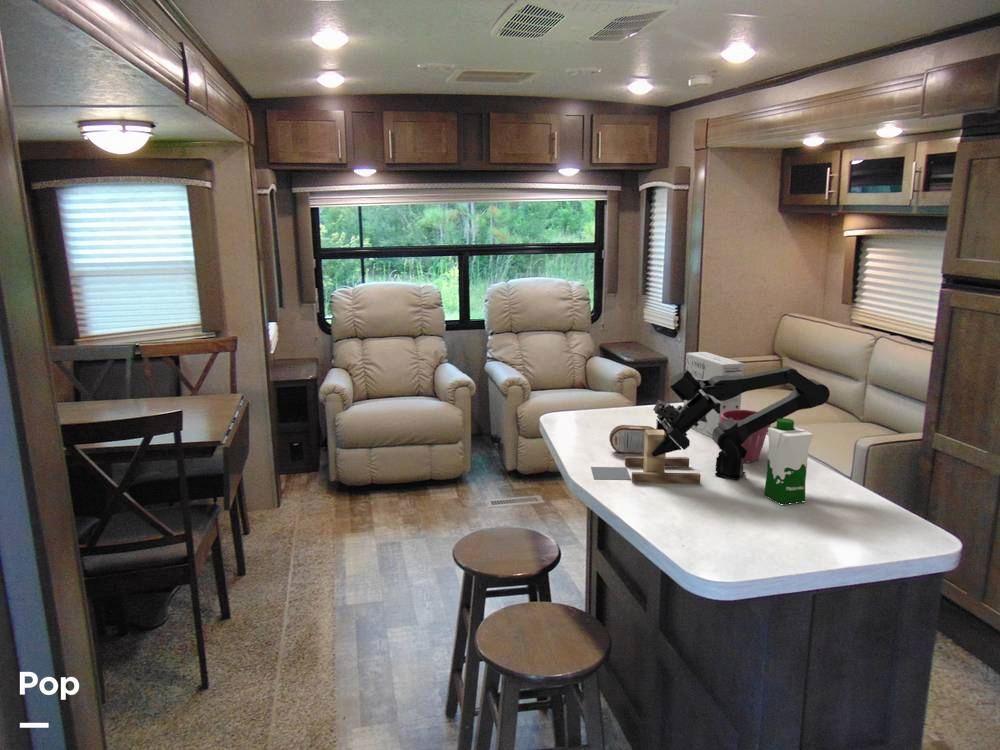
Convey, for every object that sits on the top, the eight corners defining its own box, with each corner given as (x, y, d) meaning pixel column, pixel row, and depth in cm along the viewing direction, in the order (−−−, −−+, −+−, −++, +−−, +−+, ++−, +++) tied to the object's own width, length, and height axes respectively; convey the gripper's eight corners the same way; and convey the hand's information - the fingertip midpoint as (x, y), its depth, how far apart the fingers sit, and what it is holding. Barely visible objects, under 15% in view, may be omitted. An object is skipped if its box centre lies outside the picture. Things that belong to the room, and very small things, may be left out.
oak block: (661, 471, 206) (663, 429, 204) (664, 477, 201) (666, 434, 199) (643, 470, 206) (645, 429, 204) (646, 476, 201) (648, 434, 199)
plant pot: (760, 468, 209) (763, 424, 207) (711, 459, 217) (714, 417, 214) (773, 455, 221) (776, 413, 218) (726, 447, 228) (729, 407, 226)
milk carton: (787, 491, 191) (794, 416, 187) (811, 503, 183) (818, 426, 179) (758, 494, 189) (764, 419, 185) (781, 507, 180) (788, 428, 176)
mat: (626, 467, 209) (626, 467, 209) (631, 479, 199) (631, 479, 199) (590, 467, 209) (590, 466, 209) (594, 479, 199) (594, 478, 199)
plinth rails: (687, 465, 211) (688, 457, 210) (700, 483, 196) (700, 475, 196) (624, 464, 211) (625, 456, 211) (632, 482, 197) (632, 473, 196)
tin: (659, 452, 223) (660, 425, 221) (660, 455, 220) (661, 428, 218) (608, 450, 225) (609, 423, 223) (609, 453, 222) (610, 426, 220)
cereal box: (681, 423, 254) (686, 352, 249) (701, 422, 257) (705, 351, 252) (717, 441, 234) (723, 364, 229) (738, 439, 236) (744, 363, 231)
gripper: (666, 384, 208) (625, 421, 211) (680, 399, 190) (634, 440, 192) (692, 411, 209) (651, 448, 212) (708, 429, 191) (663, 469, 194)
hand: (649, 450), depth 202 cm, fingers open, 8 cm apart
